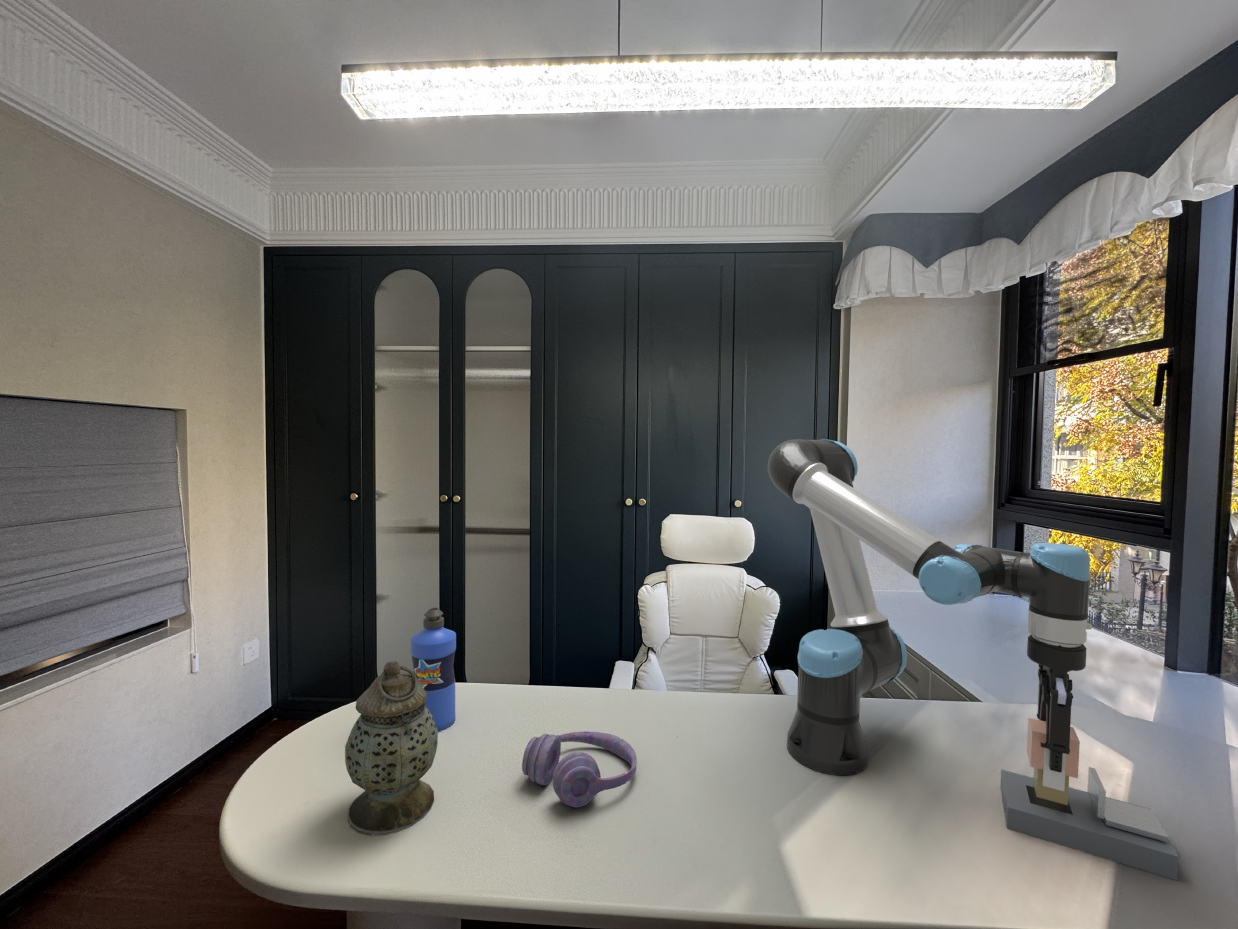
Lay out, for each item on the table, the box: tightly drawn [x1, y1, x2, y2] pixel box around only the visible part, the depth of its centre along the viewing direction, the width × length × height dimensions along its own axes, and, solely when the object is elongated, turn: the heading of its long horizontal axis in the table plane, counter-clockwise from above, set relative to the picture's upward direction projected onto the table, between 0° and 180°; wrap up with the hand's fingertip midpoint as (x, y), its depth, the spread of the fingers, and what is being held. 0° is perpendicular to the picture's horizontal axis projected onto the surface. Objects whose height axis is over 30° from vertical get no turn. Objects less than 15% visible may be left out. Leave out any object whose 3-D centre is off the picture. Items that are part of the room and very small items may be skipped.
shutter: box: [1086, 766, 1169, 842], centre depth 85 cm, size 8×7×5 cm
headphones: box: [521, 731, 638, 808], centre depth 101 cm, size 18×8×20 cm
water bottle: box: [410, 607, 457, 733], centre depth 118 cm, size 9×9×25 cm
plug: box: [1026, 717, 1081, 805], centre depth 90 cm, size 6×5×11 cm
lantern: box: [344, 660, 439, 836], centre depth 91 cm, size 14×14×25 cm
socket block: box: [999, 769, 1180, 881], centre depth 88 cm, size 20×12×4 cm, turn 59°
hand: (1050, 778), depth 90 cm, fingers closed on plug, 5 cm apart
